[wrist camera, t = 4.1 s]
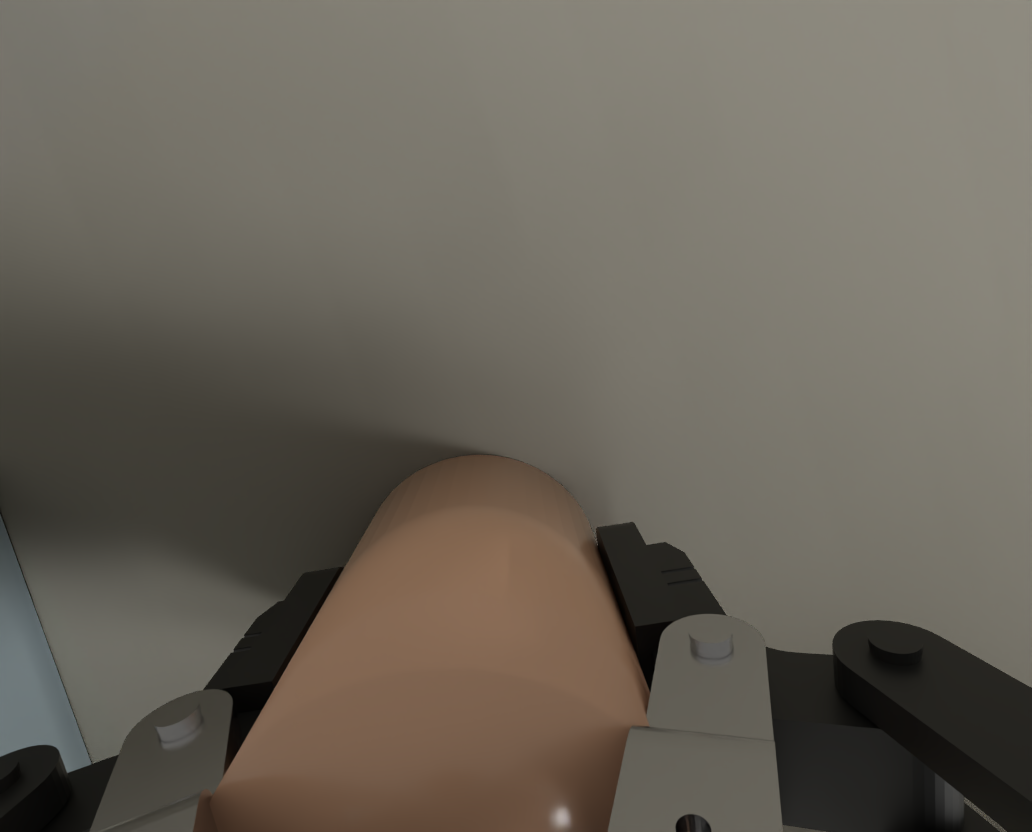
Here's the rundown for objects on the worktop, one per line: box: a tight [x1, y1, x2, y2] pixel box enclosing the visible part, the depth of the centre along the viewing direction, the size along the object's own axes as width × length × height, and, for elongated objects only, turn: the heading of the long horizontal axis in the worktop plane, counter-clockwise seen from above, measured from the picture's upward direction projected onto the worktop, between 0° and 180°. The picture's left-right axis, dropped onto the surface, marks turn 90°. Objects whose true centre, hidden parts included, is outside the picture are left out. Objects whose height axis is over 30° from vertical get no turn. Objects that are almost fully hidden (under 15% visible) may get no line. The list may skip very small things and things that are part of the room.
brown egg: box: [209, 455, 650, 832], centre depth 9 cm, size 5×5×7 cm
